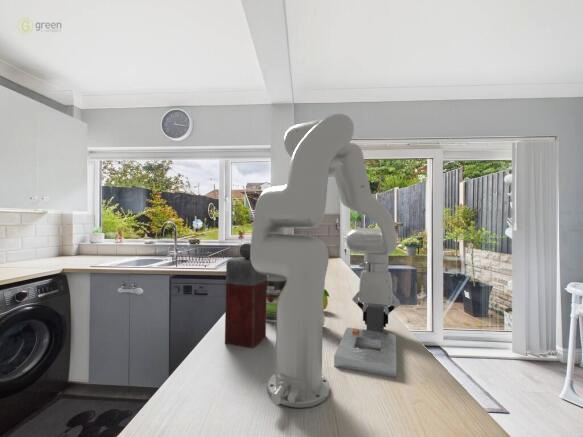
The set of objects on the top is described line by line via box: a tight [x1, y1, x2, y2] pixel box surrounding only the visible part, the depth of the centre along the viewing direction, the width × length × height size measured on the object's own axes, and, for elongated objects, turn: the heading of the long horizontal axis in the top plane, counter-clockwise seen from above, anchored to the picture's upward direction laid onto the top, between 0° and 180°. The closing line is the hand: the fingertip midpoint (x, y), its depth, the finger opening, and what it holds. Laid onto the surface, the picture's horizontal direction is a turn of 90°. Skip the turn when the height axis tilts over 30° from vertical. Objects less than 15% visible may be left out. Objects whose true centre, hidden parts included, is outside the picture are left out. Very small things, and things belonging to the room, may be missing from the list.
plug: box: [366, 304, 385, 332], centre depth 92 cm, size 9×5×8 cm, turn 160°
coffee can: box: [266, 276, 286, 323], centre depth 102 cm, size 10×10×14 cm
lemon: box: [323, 288, 330, 310], centre depth 110 cm, size 7×6×10 cm
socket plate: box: [333, 327, 397, 378], centre depth 75 cm, size 20×14×3 cm
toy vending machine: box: [224, 242, 267, 349], centre depth 84 cm, size 9×11×28 cm
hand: (375, 323), depth 91 cm, fingers closed on plug, 5 cm apart
